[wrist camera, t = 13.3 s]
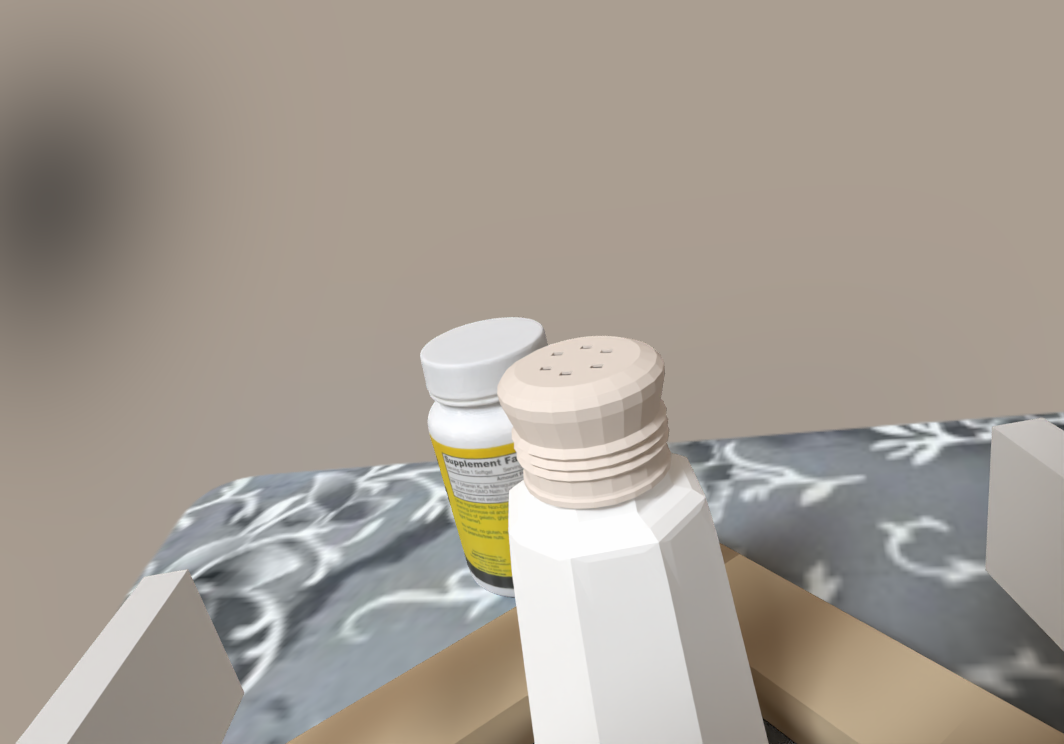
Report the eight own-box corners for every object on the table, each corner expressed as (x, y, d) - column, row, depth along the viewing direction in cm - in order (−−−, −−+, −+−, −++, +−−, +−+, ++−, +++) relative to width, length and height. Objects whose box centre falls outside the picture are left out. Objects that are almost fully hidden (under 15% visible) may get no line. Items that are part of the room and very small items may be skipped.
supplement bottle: (505, 512, 28) (456, 314, 25) (618, 523, 26) (579, 307, 23) (444, 593, 25) (377, 370, 21) (571, 613, 22) (516, 368, 19)
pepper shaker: (582, 698, 19) (494, 314, 15) (796, 732, 17) (760, 294, 13) (505, 909, 15) (351, 439, 11) (784, 992, 12) (723, 441, 8)
